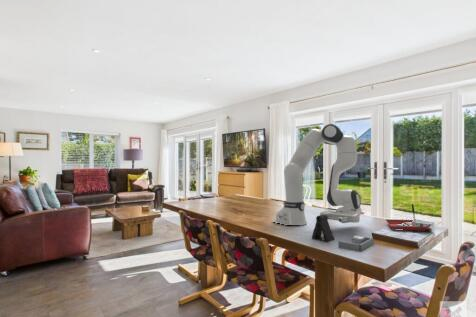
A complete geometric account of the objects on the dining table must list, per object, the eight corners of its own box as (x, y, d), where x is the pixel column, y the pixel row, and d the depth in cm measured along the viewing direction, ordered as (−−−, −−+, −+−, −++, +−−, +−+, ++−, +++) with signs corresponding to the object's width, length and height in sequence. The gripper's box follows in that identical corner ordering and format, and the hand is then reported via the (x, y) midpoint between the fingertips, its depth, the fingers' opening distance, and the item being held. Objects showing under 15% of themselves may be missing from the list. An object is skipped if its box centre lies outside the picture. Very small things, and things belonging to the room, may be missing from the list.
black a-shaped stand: (334, 239, 136) (333, 215, 136) (327, 242, 132) (326, 217, 132) (318, 236, 142) (317, 213, 143) (311, 238, 138) (310, 215, 139)
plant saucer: (390, 231, 149) (390, 225, 149) (385, 224, 166) (385, 218, 166) (429, 233, 143) (429, 226, 143) (419, 225, 160) (419, 220, 160)
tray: (338, 246, 123) (338, 241, 123) (352, 240, 133) (352, 234, 134) (360, 251, 116) (360, 245, 116) (373, 243, 126) (373, 238, 126)
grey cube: (352, 246, 124) (351, 237, 124) (356, 244, 127) (355, 235, 127) (361, 247, 121) (360, 238, 121) (364, 245, 124) (364, 237, 124)
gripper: (326, 207, 162) (314, 210, 152) (361, 210, 147) (350, 214, 138) (327, 218, 162) (314, 222, 152) (362, 222, 147) (351, 227, 138)
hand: (332, 218), depth 145 cm, fingers open, 8 cm apart
